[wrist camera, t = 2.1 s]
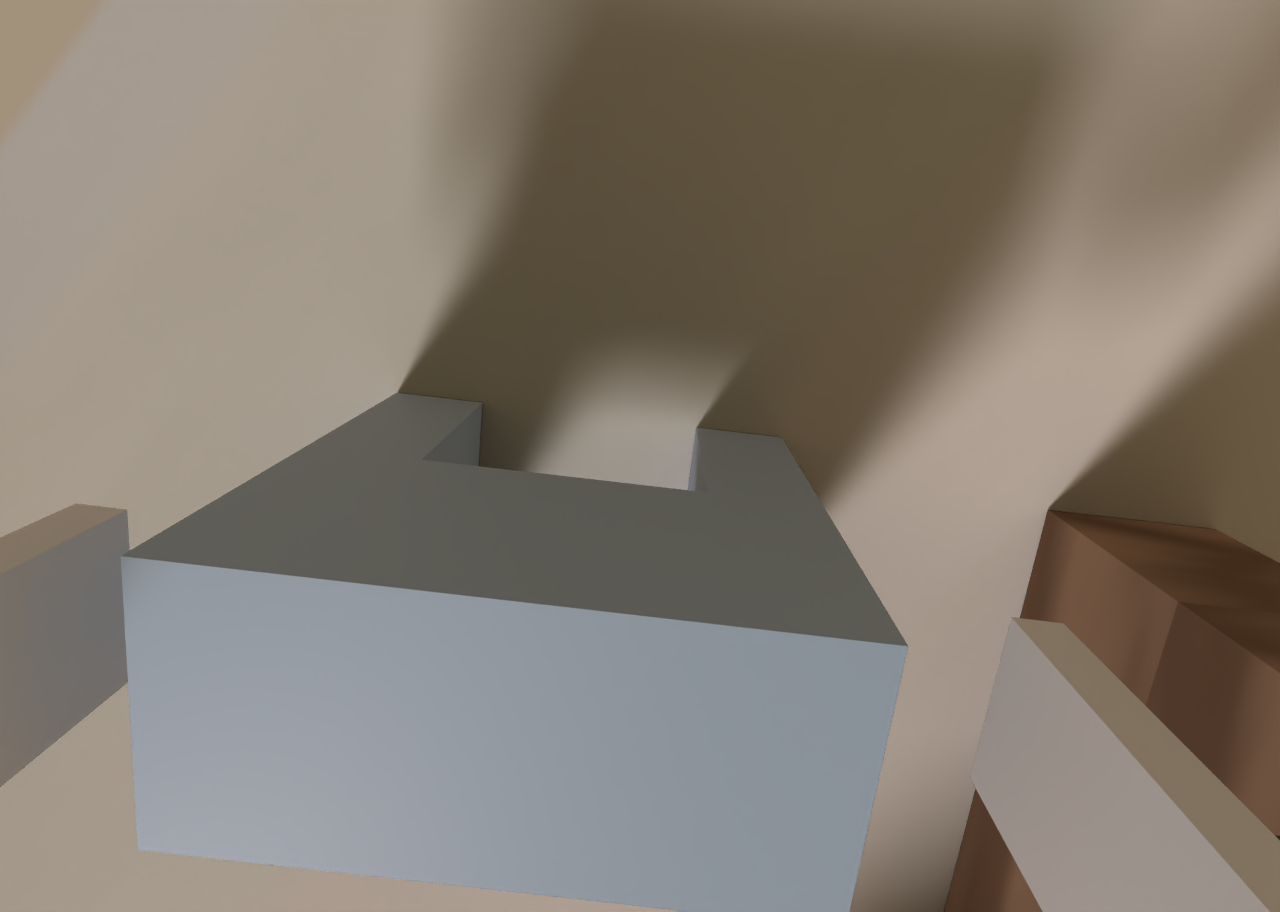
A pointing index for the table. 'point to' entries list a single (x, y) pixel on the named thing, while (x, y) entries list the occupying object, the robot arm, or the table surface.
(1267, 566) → the walnut notched block
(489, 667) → the grey slotted block
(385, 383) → the table surface
